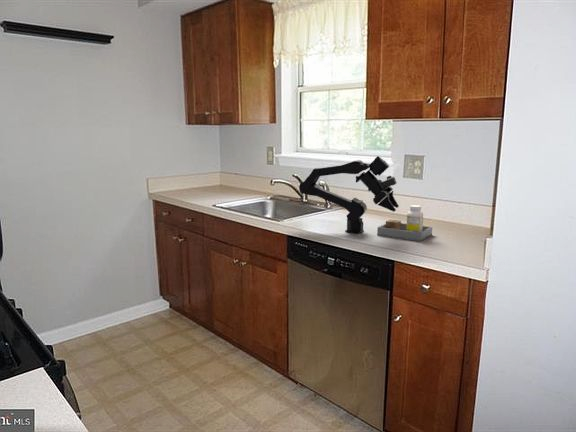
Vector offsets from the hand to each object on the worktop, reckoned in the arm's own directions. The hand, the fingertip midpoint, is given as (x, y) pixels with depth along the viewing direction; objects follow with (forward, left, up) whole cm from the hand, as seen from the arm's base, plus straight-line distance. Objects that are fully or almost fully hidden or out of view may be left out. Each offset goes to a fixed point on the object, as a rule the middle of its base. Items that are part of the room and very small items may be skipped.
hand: (396, 209), depth 188 cm
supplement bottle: (+8, +2, -11) cm, 14 cm away
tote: (+3, +2, -12) cm, 12 cm away
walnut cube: (-2, +2, -11) cm, 11 cm away
